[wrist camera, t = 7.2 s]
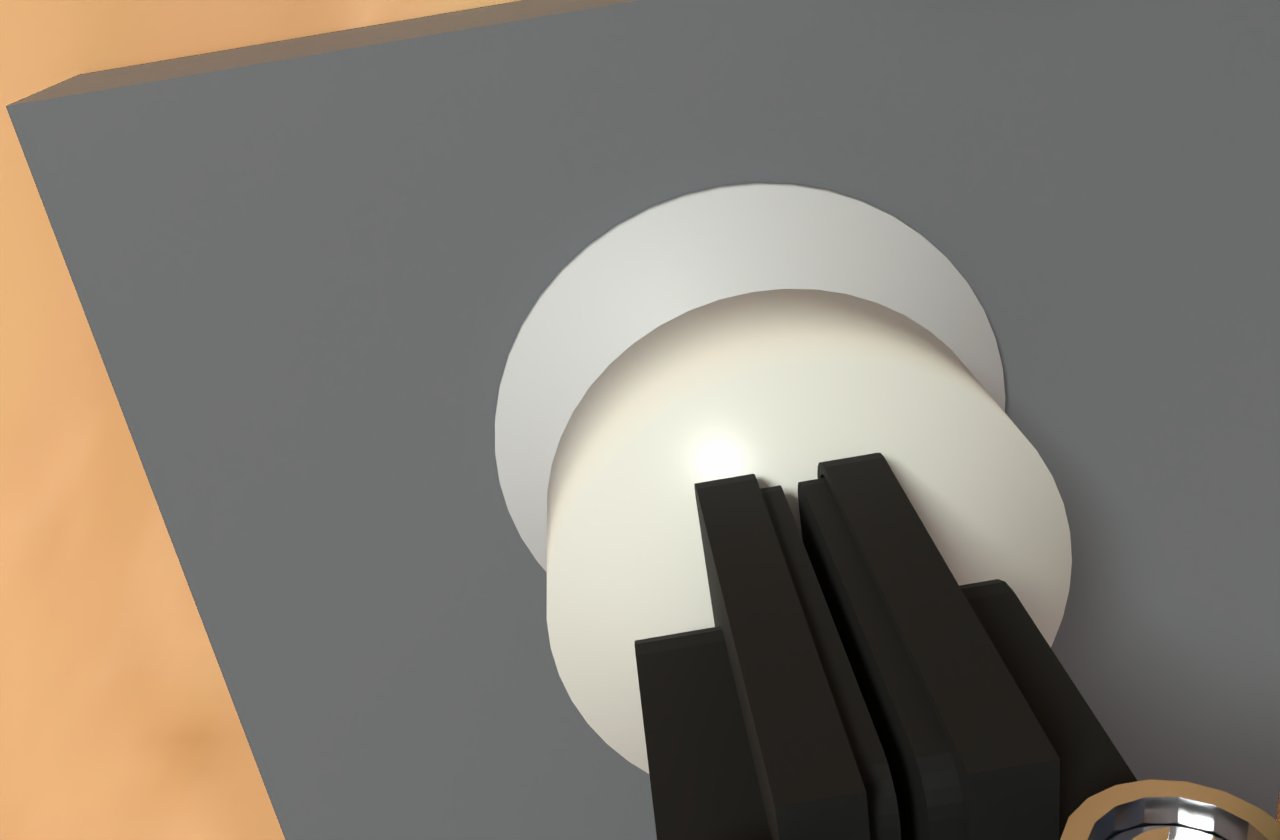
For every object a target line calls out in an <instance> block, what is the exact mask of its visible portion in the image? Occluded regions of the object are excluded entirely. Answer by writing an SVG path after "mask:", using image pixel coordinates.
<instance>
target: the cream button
mask: <svg viewBox="0 0 1280 840" xmlns="http://www.w3.org/2000/svg"><path fill="white" fill-rule="evenodd" d="M872 453H881V454H882V455H883V456H884V458H885V459H886V461H887V463H888V464H889V466H890V468H891V470H892V471H893V473H894V475H895V476H896V478H897V480H898V482H899V483H900V485H901V487H902V488H903V490H904V492H905V494H906V495H907V497H908V499H909V500H910V502H911V504H912V506H913V507H914V509H915V511H916V512H917V514H918V516H919V518H920V519H921V521H922V523H923V524H924V526H925V528H926V530H927V531H928V533H929V535H930V537H931V538H932V540H933V542H934V543H935V545H936V547H937V549H938V550H939V552H940V554H941V555H942V557H943V559H944V561H945V562H946V564H947V566H948V567H949V569H950V571H951V573H952V574H953V576H954V578H955V579H956V581H957V583H958V585H959V586H960V585H966V584H972V583H978V582H983V581H989V580H995V579H999V580H1002V581H1005V582H1006V583H1007V584H1008V585H1009V586H1010V588H1011V589H1012V590H1013V591H1014V592H1015V594H1016V596H1017V597H1018V599H1019V600H1020V602H1021V603H1022V605H1023V606H1024V608H1025V609H1026V611H1027V612H1028V614H1029V615H1030V617H1031V618H1032V620H1033V622H1034V623H1035V625H1036V626H1037V628H1038V629H1039V631H1040V632H1041V634H1042V635H1043V637H1044V638H1045V640H1046V641H1047V643H1048V645H1049V646H1050V648H1051V646H1052V644H1053V642H1054V639H1055V636H1056V634H1057V631H1058V629H1059V626H1060V624H1061V621H1062V619H1063V615H1064V611H1065V606H1066V602H1067V598H1068V594H1069V589H1070V578H1071V567H1072V553H1071V537H1070V529H1069V525H1068V520H1067V516H1066V512H1065V507H1064V503H1063V501H1062V498H1061V496H1060V493H1059V491H1058V488H1057V486H1056V483H1055V481H1054V479H1053V476H1052V475H1051V473H1050V471H1049V470H1048V468H1047V466H1046V465H1045V463H1044V461H1043V460H1042V458H1041V457H1040V455H1039V453H1038V452H1037V450H1036V449H1035V448H1034V447H1033V445H1032V444H1031V443H1030V442H1029V441H1028V440H1027V438H1026V437H1025V436H1024V435H1023V434H1022V432H1021V431H1020V430H1019V429H1018V428H1017V426H1016V425H1015V424H1014V423H1013V422H1012V421H1011V419H1010V418H1009V417H1008V416H1007V415H1006V413H1005V412H1004V411H1003V410H1002V409H1001V408H1000V406H999V405H998V404H997V403H996V402H995V400H994V399H993V398H992V397H991V396H990V394H989V393H988V392H987V391H986V390H985V389H984V387H983V386H982V385H981V384H980V383H979V381H978V380H977V379H976V378H975V377H974V376H973V374H972V373H971V372H970V371H969V370H968V368H967V367H966V366H965V365H964V364H963V363H962V361H961V360H960V359H959V358H958V357H957V356H956V354H955V353H954V352H953V351H952V350H951V349H950V348H949V347H948V346H947V345H946V344H944V343H943V342H942V341H941V340H940V339H939V338H937V337H936V336H935V335H934V334H933V333H932V332H930V331H929V330H928V329H926V328H924V327H923V326H921V325H920V324H918V323H916V322H915V321H913V320H912V319H910V318H909V317H907V316H905V315H903V314H901V313H899V312H897V311H894V310H892V309H890V308H888V307H885V306H883V305H881V304H879V303H876V302H873V301H869V300H866V299H862V298H859V297H856V296H852V295H849V294H843V293H837V292H830V291H823V290H817V289H777V290H767V291H758V292H750V293H746V294H741V295H737V296H733V297H728V298H724V299H720V300H717V301H714V302H712V303H709V304H706V305H703V306H701V307H698V308H695V309H692V310H690V311H687V312H685V313H684V314H682V315H680V316H678V317H676V318H674V319H672V320H670V321H668V322H666V323H664V324H662V325H660V326H658V327H657V328H656V329H654V330H653V331H651V332H650V333H648V334H647V335H645V336H644V337H642V338H641V339H639V340H638V341H636V342H635V343H633V344H632V345H631V346H630V347H629V348H628V349H627V350H625V351H624V352H623V353H622V354H621V355H620V356H619V357H617V358H616V359H615V360H614V361H613V362H612V363H611V364H610V365H609V366H608V367H607V368H606V369H605V370H604V371H603V373H602V374H601V375H600V376H599V377H598V378H597V379H596V381H595V382H594V383H593V384H592V385H591V386H590V387H589V389H588V390H587V392H586V393H585V395H584V396H583V398H582V399H581V401H580V402H579V404H578V405H577V407H576V408H575V410H574V411H573V413H572V415H571V417H570V419H569V421H568V423H567V425H566V428H565V430H564V432H563V434H562V436H561V438H560V441H559V444H558V447H557V450H556V453H555V456H554V459H553V463H552V466H551V472H550V478H549V484H548V491H547V626H548V633H549V640H550V647H551V651H552V654H553V657H554V660H555V664H556V667H557V670H558V673H559V676H560V678H561V680H562V682H563V684H564V686H565V688H566V690H567V692H568V694H569V696H570V698H571V700H572V702H573V703H574V705H575V706H576V708H577V709H578V710H579V712H580V713H581V715H582V716H583V718H584V719H585V720H586V722H587V723H588V724H589V725H590V727H591V728H592V729H593V730H594V731H595V732H596V733H597V734H598V735H599V736H600V737H601V738H602V739H603V740H604V741H605V743H606V744H608V745H609V746H610V747H611V748H613V749H614V750H615V751H616V752H617V753H619V754H620V755H621V756H622V757H624V758H625V759H626V760H627V761H629V762H630V763H632V764H633V765H635V766H637V767H638V768H640V769H642V770H643V771H645V772H647V773H648V774H649V767H648V758H647V749H646V741H645V732H644V724H643V715H642V706H641V698H640V689H639V681H638V672H637V664H636V655H635V645H634V644H635V640H641V639H647V638H653V637H659V636H665V635H671V634H676V633H682V632H688V631H694V630H700V629H706V628H712V627H715V624H714V617H713V611H712V604H711V597H710V590H709V584H708V577H707V570H706V564H705V557H704V550H703V544H702V537H701V530H700V523H699V517H698V510H697V503H696V497H695V488H694V484H695V483H701V482H707V481H712V480H718V479H724V478H730V477H736V476H742V475H748V474H755V476H756V479H757V481H758V484H759V487H760V489H761V488H767V487H773V486H778V485H780V486H781V487H782V489H783V492H784V494H785V497H786V499H787V502H788V504H789V507H790V510H791V512H792V515H793V517H794V520H795V523H796V525H797V528H798V530H799V533H800V536H801V538H802V530H801V521H800V511H799V502H798V482H802V481H808V480H814V479H818V477H817V469H818V464H819V462H825V461H831V460H837V459H843V458H849V457H855V456H860V455H866V454H872ZM802 541H803V540H802Z"/></svg>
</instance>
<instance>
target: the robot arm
mask: <svg viewBox="0 0 1280 840" xmlns="http://www.w3.org/2000/svg"><path fill="white" fill-rule="evenodd" d="M817 477H818V479H814V480H808V481H802V482H798V502H799V511H800V521H801V530H802V538H801V536H800V533H799V530H798V528H797V525H796V523H795V520H794V517H793V515H792V512H791V510H790V507H789V504H788V502H787V499H786V497H785V494H784V492H783V489H782V487H781V486H780V485H778V486H773V487H767V488H761V489H760V487H759V484H758V481H757V479H756V476H755V474H748V475H742V476H736V477H730V478H724V479H718V480H712V481H707V482H701V483H695V484H694V488H695V497H696V503H697V510H698V517H699V523H700V530H701V537H702V544H703V550H704V557H705V564H706V570H707V577H708V584H709V590H710V597H711V604H712V611H713V617H714V624H715V627H712V628H706V629H700V630H694V631H688V632H682V633H676V634H671V635H665V636H659V637H653V638H647V639H641V640H635V644H634V645H635V655H636V664H637V672H638V681H639V689H640V698H641V706H642V715H643V724H644V732H645V741H646V749H647V758H648V767H649V775H650V784H651V792H652V801H653V809H654V818H655V827H656V835H657V840H1280V823H1279V822H1277V821H1276V820H1275V819H1273V818H1272V817H1271V816H1270V815H1268V814H1267V813H1266V812H1264V811H1263V810H1262V809H1260V808H1258V807H1256V806H1254V805H1252V804H1250V803H1248V802H1246V801H1244V800H1242V799H1240V798H1237V797H1235V796H1233V795H1231V794H1229V793H1227V792H1225V791H1221V790H1217V789H1213V788H1210V787H1206V786H1202V785H1198V784H1194V783H1190V782H1185V781H1168V780H1151V779H1149V780H1143V781H1137V779H1136V778H1135V776H1134V775H1133V773H1132V771H1131V770H1130V768H1129V767H1128V765H1127V764H1126V762H1125V761H1124V759H1123V758H1122V756H1121V755H1120V753H1119V752H1118V750H1117V749H1116V747H1115V745H1114V744H1113V742H1112V741H1111V739H1110V738H1109V736H1108V735H1107V733H1106V732H1105V730H1104V729H1103V727H1102V726H1101V724H1100V723H1099V721H1098V719H1097V718H1096V716H1095V715H1094V713H1093V712H1092V710H1091V709H1090V707H1089V706H1088V704H1087V703H1086V701H1085V700H1084V698H1083V697H1082V695H1081V693H1080V692H1079V690H1078V689H1077V687H1076V686H1075V684H1074V683H1073V681H1072V680H1071V678H1070V677H1069V675H1068V674H1067V672H1066V671H1065V669H1064V667H1063V666H1062V664H1061V663H1060V661H1059V660H1058V658H1057V657H1056V655H1055V654H1054V652H1053V651H1052V649H1051V648H1050V646H1049V645H1048V643H1047V641H1046V640H1045V638H1044V637H1043V635H1042V634H1041V632H1040V631H1039V629H1038V628H1037V626H1036V625H1035V623H1034V622H1033V620H1032V618H1031V617H1030V615H1029V614H1028V612H1027V611H1026V609H1025V608H1024V606H1023V605H1022V603H1021V602H1020V600H1019V599H1018V597H1017V596H1016V594H1015V592H1014V591H1013V590H1012V589H1011V588H1010V586H1009V585H1008V584H1007V583H1006V582H1005V581H1002V580H999V579H995V580H989V581H983V582H978V583H972V584H966V585H960V586H959V585H958V583H957V581H956V579H955V578H954V576H953V574H952V573H951V571H950V569H949V567H948V566H947V564H946V562H945V561H944V559H943V557H942V555H941V554H940V552H939V550H938V549H937V547H936V545H935V543H934V542H933V540H932V538H931V537H930V535H929V533H928V531H927V530H926V528H925V526H924V524H923V523H922V521H921V519H920V518H919V516H918V514H917V512H916V511H915V509H914V507H913V506H912V504H911V502H910V500H909V499H908V497H907V495H906V494H905V492H904V490H903V488H902V487H901V485H900V483H899V482H898V480H897V478H896V476H895V475H894V473H893V471H892V470H891V468H890V466H889V464H888V463H887V461H886V459H885V458H884V456H883V455H882V454H881V453H872V454H866V455H860V456H855V457H849V458H843V459H837V460H831V461H825V462H819V464H818V469H817ZM802 540H803V541H802Z"/></svg>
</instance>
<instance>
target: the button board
mask: <svg viewBox="0 0 1280 840" xmlns="http://www.w3.org/2000/svg"><path fill="white" fill-rule="evenodd" d="M6 108H7V110H8V113H9V116H10V118H11V121H12V123H13V126H14V129H15V131H16V134H17V137H18V139H19V142H20V144H21V147H22V150H23V152H24V155H25V158H26V160H27V163H28V165H29V168H30V171H31V173H32V176H33V179H34V181H35V184H36V186H37V189H38V192H39V194H40V197H41V200H42V202H43V205H44V207H45V210H46V213H47V215H48V218H49V221H50V223H51V226H52V228H53V231H54V234H55V236H56V239H57V242H58V244H59V247H60V249H61V252H62V255H63V257H64V260H65V263H66V265H67V268H68V270H69V273H70V276H71V278H72V281H73V283H74V286H75V289H76V291H77V294H78V297H79V299H80V302H81V304H82V307H83V310H84V312H85V315H86V318H87V320H88V323H89V325H90V328H91V331H92V333H93V336H94V339H95V341H96V344H97V346H98V349H99V352H100V354H101V357H102V360H103V362H104V365H105V367H106V370H107V373H108V375H109V378H110V381H111V383H112V386H113V388H114V391H115V394H116V396H117V399H118V402H119V404H120V407H121V409H122V412H123V415H124V417H125V420H126V423H127V425H128V428H129V430H130V433H131V436H132V438H133V441H134V444H135V446H136V449H137V451H138V454H139V457H140V459H141V462H142V465H143V467H144V470H145V472H146V475H147V478H148V480H149V483H150V485H151V488H152V491H153V493H154V496H155V499H156V501H157V504H158V506H159V509H160V512H161V514H162V517H163V520H164V522H165V525H166V527H167V530H168V533H169V535H170V538H171V541H172V543H173V546H174V548H175V551H176V554H177V556H178V559H179V562H180V564H181V567H182V569H183V572H184V575H185V577H186V580H187V583H188V585H189V588H190V590H191V593H192V596H193V598H194V601H195V604H196V606H197V609H198V611H199V614H200V617H201V619H202V622H203V625H204V627H205V630H206V632H207V635H208V638H209V640H210V643H211V646H212V648H213V651H214V653H215V656H216V659H217V661H218V664H219V667H220V669H221V672H222V674H223V677H224V680H225V682H226V685H227V687H228V690H229V693H230V695H231V698H232V701H233V703H234V706H235V708H236V711H237V714H238V716H239V719H240V722H241V724H242V727H243V729H244V732H245V735H246V737H247V740H248V743H249V745H250V748H251V750H252V753H253V756H254V758H255V761H256V764H257V766H258V769H259V771H260V774H261V777H262V779H263V782H264V785H265V787H266V790H267V792H268V795H269V798H270V800H271V803H272V806H273V808H274V811H275V813H276V816H277V819H278V821H279V824H280V827H281V829H282V832H283V834H284V837H285V840H657V835H656V827H655V818H654V809H653V801H652V792H651V784H650V775H649V774H648V773H647V772H645V771H643V770H642V769H640V768H638V767H637V766H635V765H633V764H632V763H630V762H629V761H627V760H626V759H625V758H624V757H622V756H621V755H620V754H619V753H617V752H616V751H615V750H614V749H613V748H611V747H610V746H609V745H608V744H606V743H605V741H604V740H603V739H602V738H601V737H600V736H599V735H598V734H597V733H596V732H595V731H594V730H593V729H592V728H591V727H590V725H589V724H588V723H587V722H586V720H585V719H584V718H583V716H582V715H581V713H580V712H579V710H578V709H577V708H576V706H575V705H574V703H573V702H572V700H571V698H570V696H569V694H568V692H567V690H566V688H565V686H564V684H563V682H562V680H561V678H560V676H559V673H558V670H557V667H556V664H555V660H554V657H553V654H552V651H551V647H550V640H549V633H548V626H547V491H548V484H549V478H550V472H551V466H552V463H553V459H554V456H555V453H556V450H557V447H558V444H559V441H560V438H561V436H562V434H563V432H564V430H565V428H566V425H567V423H568V421H569V419H570V417H571V415H572V413H573V411H574V410H575V408H576V407H577V405H578V404H579V402H580V401H581V399H582V398H583V396H584V395H585V393H586V392H587V390H588V389H589V387H590V386H591V385H592V384H593V383H594V382H595V381H596V379H597V378H598V377H599V376H600V375H601V374H602V373H603V371H604V370H605V369H606V368H607V367H608V366H609V365H610V364H611V363H612V362H613V361H614V360H615V359H616V358H617V357H619V356H620V355H621V354H622V353H623V352H624V351H625V350H627V349H628V348H629V347H630V346H631V345H632V344H633V343H635V342H636V341H638V340H639V339H641V338H642V337H644V336H645V335H647V334H648V333H650V332H651V331H653V330H654V329H656V328H657V327H658V326H660V325H662V324H664V323H666V322H668V321H670V320H672V319H674V318H676V317H678V316H680V315H682V314H684V313H685V312H687V311H690V310H692V309H695V308H698V307H701V306H703V305H706V304H709V303H712V302H714V301H717V300H720V299H724V298H728V297H733V296H737V295H741V294H746V293H750V292H758V291H767V290H777V289H817V290H823V291H830V292H837V293H843V294H849V295H852V296H856V297H859V298H862V299H866V300H869V301H873V302H876V303H879V304H881V305H883V306H885V307H888V308H890V309H892V310H894V311H897V312H899V313H901V314H903V315H905V316H907V317H909V318H910V319H912V320H913V321H915V322H916V323H918V324H920V325H921V326H923V327H924V328H926V329H928V330H929V331H930V332H932V333H933V334H934V335H935V336H936V337H937V338H939V339H940V340H941V341H942V342H943V343H944V344H946V345H947V346H948V347H949V348H950V349H951V350H952V351H953V352H954V353H955V354H956V356H957V357H958V358H959V359H960V360H961V361H962V363H963V364H964V365H965V366H966V367H967V368H968V370H969V371H970V372H971V373H972V374H973V376H974V377H975V378H976V379H977V380H978V381H979V383H980V384H981V385H982V386H983V387H984V389H985V390H986V391H987V392H988V393H989V394H990V396H991V397H992V398H993V399H994V400H995V402H996V403H997V404H998V405H999V406H1000V408H1001V409H1002V410H1003V411H1004V412H1005V413H1006V415H1007V416H1008V417H1009V418H1010V419H1011V421H1012V422H1013V423H1014V424H1015V425H1016V426H1017V428H1018V429H1019V430H1020V431H1021V432H1022V434H1023V435H1024V436H1025V437H1026V438H1027V440H1028V441H1029V442H1030V443H1031V444H1032V445H1033V447H1034V448H1035V449H1036V450H1037V452H1038V453H1039V455H1040V457H1041V458H1042V460H1043V461H1044V463H1045V465H1046V466H1047V468H1048V470H1049V471H1050V473H1051V475H1052V476H1053V479H1054V481H1055V483H1056V486H1057V488H1058V491H1059V493H1060V496H1061V498H1062V501H1063V503H1064V507H1065V512H1066V516H1067V520H1068V525H1069V529H1070V537H1071V553H1072V567H1071V578H1070V589H1069V594H1068V598H1067V602H1066V606H1065V611H1064V615H1063V619H1062V621H1061V624H1060V626H1059V629H1058V631H1057V634H1056V636H1055V639H1054V642H1053V644H1052V646H1051V649H1052V651H1053V652H1054V654H1055V655H1056V657H1057V658H1058V660H1059V661H1060V663H1061V664H1062V666H1063V667H1064V669H1065V671H1066V672H1067V674H1068V675H1069V677H1070V678H1071V680H1072V681H1073V683H1074V684H1075V686H1076V687H1077V689H1078V690H1079V692H1080V693H1081V695H1082V697H1083V698H1084V700H1085V701H1086V703H1087V704H1088V706H1089V707H1090V709H1091V710H1092V712H1093V713H1094V715H1095V716H1096V718H1097V719H1098V721H1099V723H1100V724H1101V726H1102V727H1103V729H1104V730H1105V732H1106V733H1107V735H1108V736H1109V738H1110V739H1111V741H1112V742H1113V744H1114V745H1115V747H1116V749H1117V750H1118V752H1119V753H1120V755H1121V756H1122V758H1123V759H1124V761H1125V762H1126V764H1127V765H1128V767H1129V768H1130V770H1131V771H1132V773H1133V775H1134V776H1135V778H1136V779H1137V781H1143V780H1149V779H1151V780H1168V781H1185V782H1190V783H1194V784H1198V785H1202V786H1206V787H1210V788H1213V789H1217V790H1221V791H1225V792H1227V793H1229V794H1231V795H1233V796H1235V797H1237V798H1240V799H1242V800H1244V801H1246V802H1248V803H1250V804H1252V805H1254V806H1256V807H1258V808H1260V809H1262V810H1263V811H1264V812H1266V813H1267V814H1268V815H1270V816H1271V817H1272V818H1273V819H1275V820H1276V817H1277V808H1278V800H1279V791H1280V0H522V1H516V2H510V3H504V4H498V5H492V6H486V7H480V8H474V9H468V10H462V11H456V12H450V13H444V14H438V15H432V16H427V17H421V18H415V19H409V20H403V21H397V22H391V23H385V24H379V25H373V26H367V27H361V28H355V29H349V30H343V31H337V32H331V33H325V34H319V35H313V36H307V37H301V38H295V39H289V40H283V41H277V42H271V43H265V44H259V45H253V46H247V47H241V48H235V49H229V50H223V51H217V52H211V53H206V54H200V55H194V56H188V57H182V58H176V59H170V60H164V61H158V62H152V63H146V64H140V65H134V66H128V67H122V68H116V69H110V70H104V71H98V72H92V73H86V74H80V75H77V76H75V77H72V78H70V79H68V80H65V81H63V82H61V83H58V84H56V85H54V86H51V87H49V88H47V89H44V90H42V91H40V92H37V93H35V94H33V95H31V96H28V97H26V98H24V99H21V100H19V101H17V102H14V103H12V104H10V105H7V106H6Z"/></svg>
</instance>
